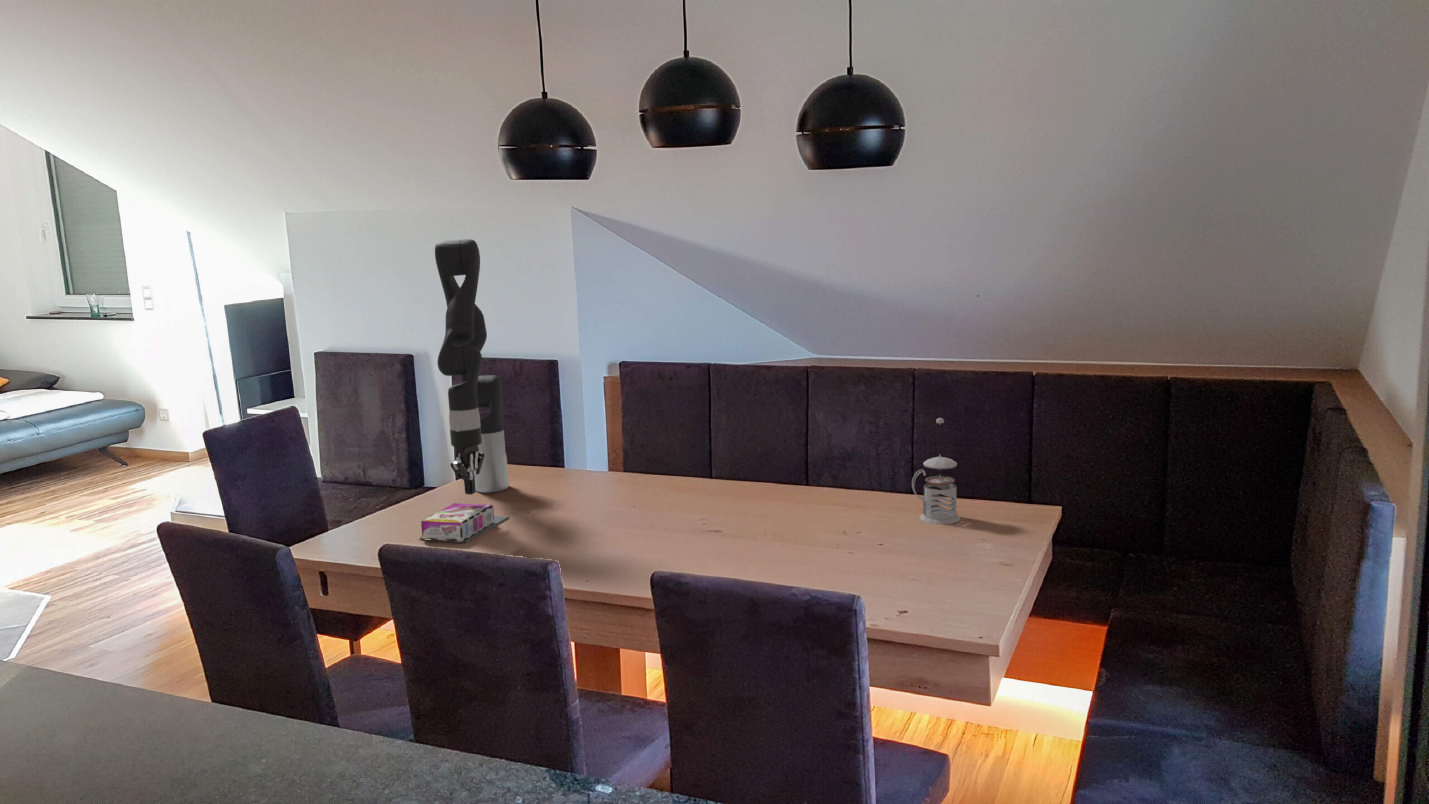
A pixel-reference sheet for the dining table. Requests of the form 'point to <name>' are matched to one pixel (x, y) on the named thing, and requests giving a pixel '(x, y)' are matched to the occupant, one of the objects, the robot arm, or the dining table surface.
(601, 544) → the dining table surface
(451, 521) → the candy bar box
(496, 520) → the mat
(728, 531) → the dining table surface
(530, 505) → the dining table surface
